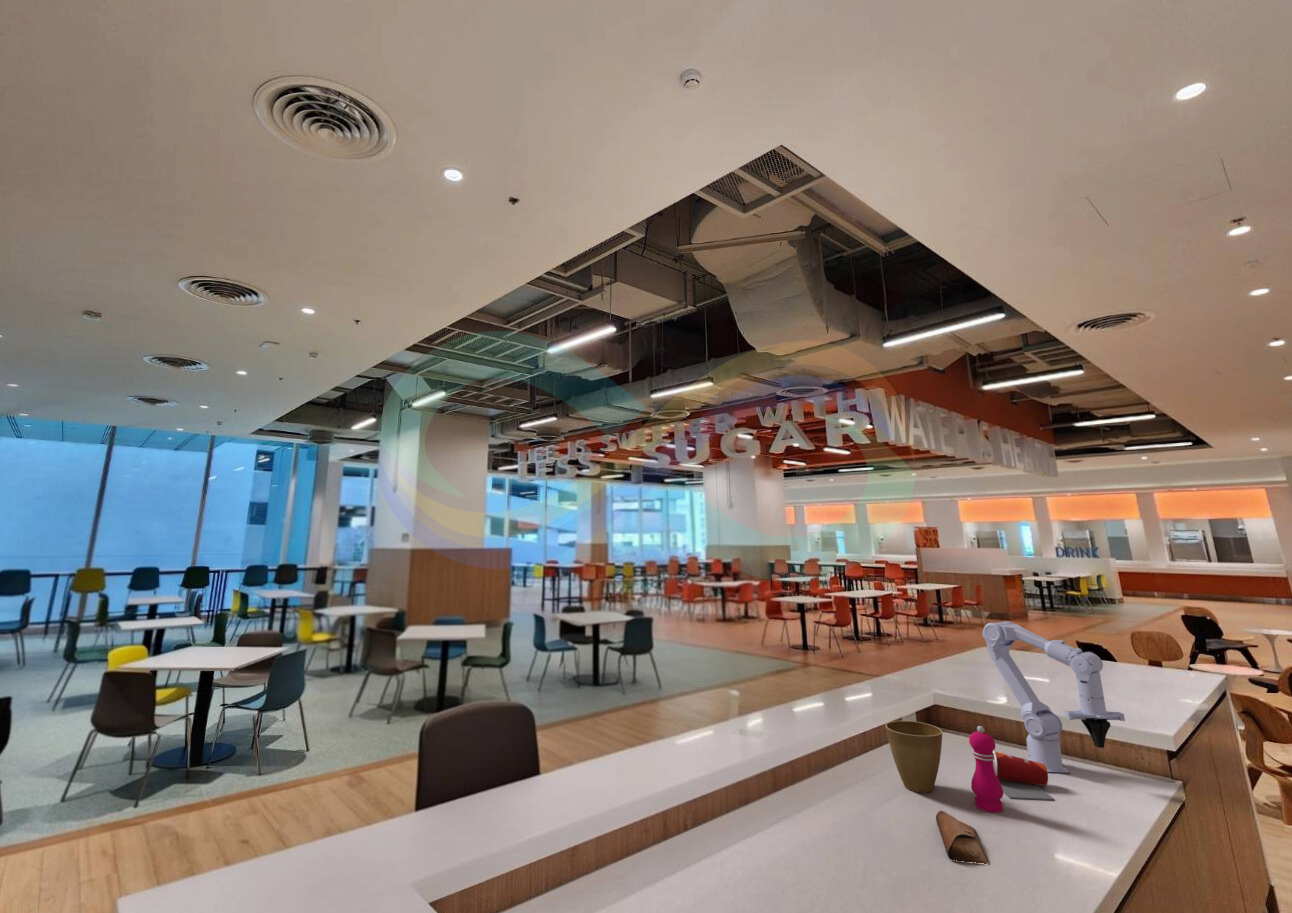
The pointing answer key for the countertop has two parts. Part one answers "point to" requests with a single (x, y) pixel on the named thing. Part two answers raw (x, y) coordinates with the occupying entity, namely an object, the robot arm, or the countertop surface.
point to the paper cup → (1019, 769)
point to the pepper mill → (985, 773)
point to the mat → (1023, 791)
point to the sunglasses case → (959, 839)
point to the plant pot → (915, 753)
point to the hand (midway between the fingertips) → (1099, 746)
